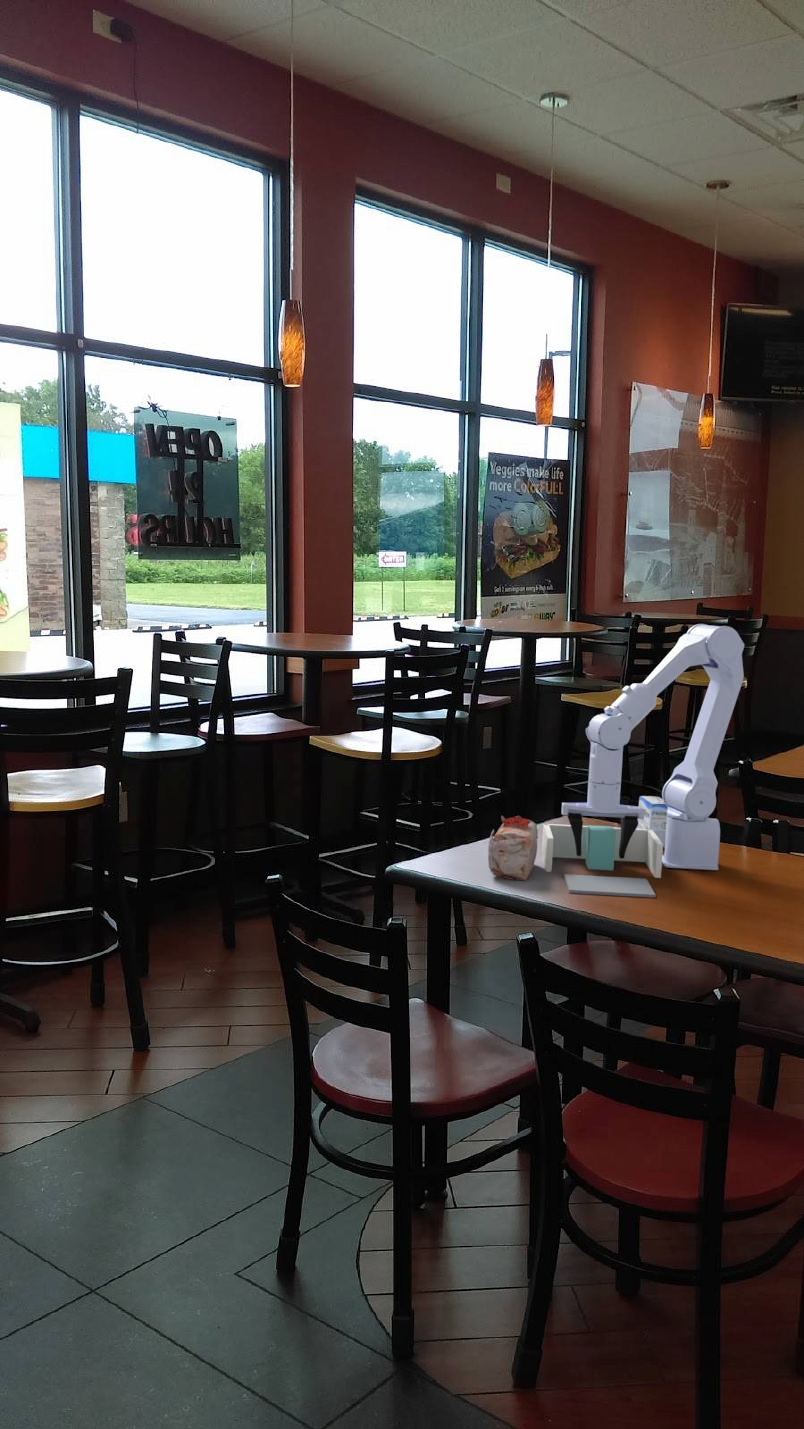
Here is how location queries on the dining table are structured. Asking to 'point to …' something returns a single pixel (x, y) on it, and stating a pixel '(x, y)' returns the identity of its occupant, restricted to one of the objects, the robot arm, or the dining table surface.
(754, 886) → the dining table surface
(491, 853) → the food item
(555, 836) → the open folding screen
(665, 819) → the medicine box
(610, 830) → the teal block
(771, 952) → the dining table surface
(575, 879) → the slate mat
